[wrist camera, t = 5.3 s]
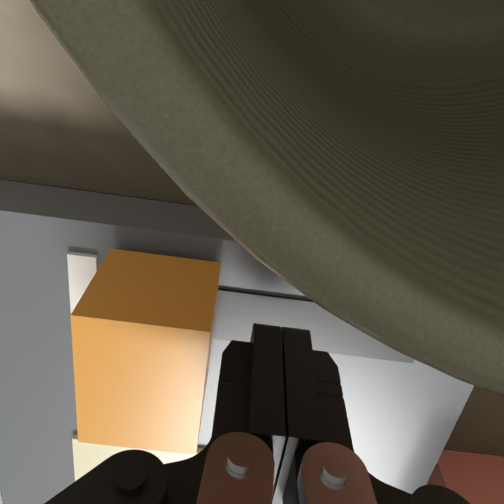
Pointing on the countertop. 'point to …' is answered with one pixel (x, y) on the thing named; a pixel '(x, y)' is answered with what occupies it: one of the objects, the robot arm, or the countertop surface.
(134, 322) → the orange rectangular prism
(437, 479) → the pink square block
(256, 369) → the robot arm
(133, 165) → the countertop surface
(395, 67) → the pink terracotta mug
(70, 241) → the panel
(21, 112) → the countertop surface
